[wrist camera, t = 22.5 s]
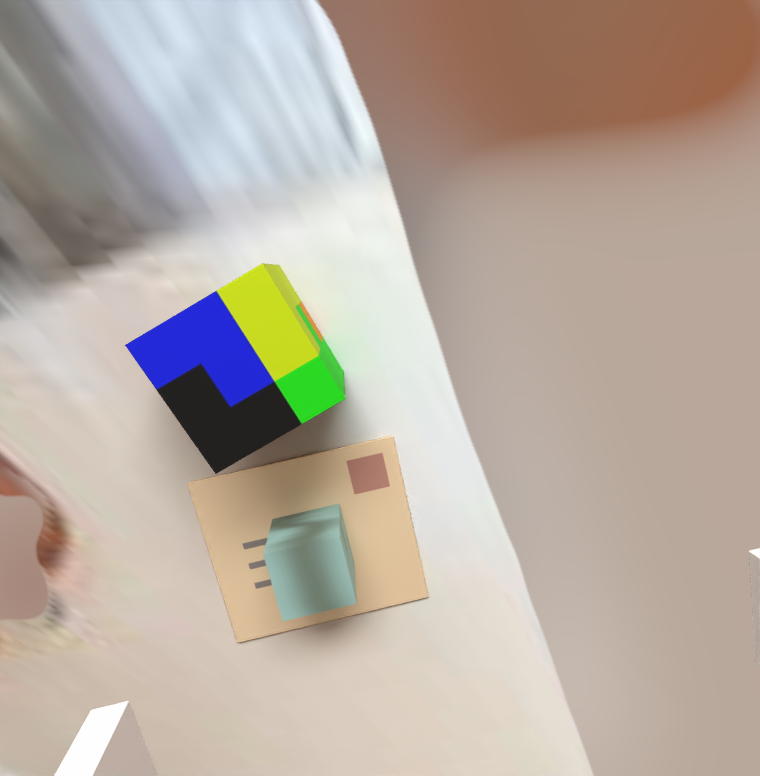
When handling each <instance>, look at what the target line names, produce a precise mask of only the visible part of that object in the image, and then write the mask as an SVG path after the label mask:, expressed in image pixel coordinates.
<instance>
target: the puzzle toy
mask: <svg viewBox="0 0 760 776" xmlns="http://www.w3.org/2000/svg"><path fill="white" fill-rule="evenodd" d="M125 346H126V347H127V348H128V350H129V351H130V353H131V354H132V356H133V357H134V358H135V360H136V361H137V363H138V364H139V366H140V367H141V368H142V370H143V371H144V373H145V374H146V376H147V377H148V378H149V380H150V381H151V383H152V384H153V385H154V387H155V388H156V390H157V391H158V393H159V394H160V395H161V397H162V398H163V400H164V401H165V403H166V404H167V405H168V407H169V408H170V410H171V411H172V412H173V414H174V415H175V417H176V418H177V420H178V421H179V422H180V424H181V425H182V427H183V428H184V430H185V431H186V432H187V434H188V435H189V437H190V438H191V439H192V441H193V442H194V444H195V445H196V447H197V448H198V449H199V451H200V452H201V454H202V455H203V457H204V458H205V459H206V461H207V462H208V464H209V465H210V467H211V468H212V469H213V471H214V472H215V474H216V473H218V472H220V471H222V470H223V469H225V468H227V467H228V466H230V465H232V464H234V463H235V462H237V461H239V460H241V459H242V458H244V457H246V456H247V455H249V454H251V453H253V452H254V451H256V450H258V449H260V448H261V447H263V446H265V445H266V444H268V443H270V442H272V441H273V440H275V439H277V438H279V437H280V436H282V435H284V434H285V433H287V432H289V431H291V430H292V429H294V428H296V427H297V426H299V425H301V424H303V423H304V422H306V421H308V420H310V419H311V418H313V417H315V416H316V415H318V414H320V413H322V412H323V411H325V410H327V409H329V408H330V407H332V406H334V405H335V404H337V403H339V402H341V401H342V400H344V399H345V388H344V372H343V370H342V368H341V366H340V365H339V363H338V361H337V360H336V358H335V356H334V355H333V353H332V352H331V350H330V348H329V347H328V345H327V343H326V342H325V340H324V338H323V337H322V335H321V333H320V332H319V330H318V328H317V327H316V325H315V323H314V322H313V320H312V318H311V317H310V315H309V313H308V312H307V310H306V309H305V307H304V305H303V304H302V302H301V300H300V299H299V297H298V295H297V294H296V292H295V290H294V289H293V287H292V285H291V284H290V282H289V280H288V279H287V277H286V275H285V274H284V272H283V270H282V269H281V267H280V265H273V264H263V263H262V264H261V265H259V266H257V267H256V268H254V269H252V270H250V271H249V272H247V273H245V274H244V275H242V276H240V277H239V278H237V279H235V280H234V281H232V282H230V283H229V284H227V285H225V286H224V287H222V288H220V289H219V290H217V291H215V292H214V293H212V294H210V295H209V296H207V297H205V298H203V299H202V300H200V301H198V302H197V303H195V304H193V305H192V306H190V307H188V308H187V309H185V310H183V311H182V312H180V313H178V314H177V315H175V316H173V317H172V318H170V319H168V320H167V321H165V322H163V323H162V324H160V325H158V326H156V327H155V328H153V329H151V330H150V331H148V332H146V333H145V334H143V335H141V336H140V337H138V338H136V339H135V340H133V341H131V342H130V343H128V344H126V345H125Z"/></svg>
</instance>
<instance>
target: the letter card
mask: <svg viewBox="0 0 760 776" xmlns="http://www.w3.org/2000/svg"><path fill="white" fill-rule="evenodd" d="M187 485H188V488H189V491H190V494H191V497H192V500H193V504H194V507H195V510H196V513H197V516H198V519H199V522H200V525H201V529H202V532H203V535H204V538H205V541H206V544H207V547H208V551H209V554H210V557H211V560H212V563H213V566H214V569H215V572H216V576H217V579H218V582H219V585H220V588H221V591H222V594H223V597H224V601H225V604H226V607H227V610H228V613H229V616H230V619H231V622H232V626H233V629H234V632H235V635H236V638H237V641H238V643H239V642H243V641H247V640H251V639H255V638H260V637H264V636H268V635H272V634H276V633H280V632H285V631H289V630H293V629H297V628H301V627H305V626H310V625H314V624H318V623H322V622H326V621H330V620H335V619H339V618H343V617H347V616H351V615H355V614H359V613H364V612H368V611H372V610H376V609H380V608H384V607H389V606H393V605H397V604H401V603H405V602H409V601H414V600H418V599H422V598H426V597H428V593H427V588H426V584H425V579H424V575H423V570H422V566H421V561H420V557H419V552H418V547H417V543H416V538H415V534H414V529H413V525H412V520H411V516H410V511H409V507H408V502H407V497H406V493H405V488H404V484H403V479H402V475H401V470H400V466H399V461H398V456H397V452H396V447H395V443H394V438H393V436H388V437H384V438H380V439H375V440H371V441H367V442H362V443H358V444H354V445H349V446H345V447H341V448H336V449H332V450H328V451H323V452H319V453H315V454H310V455H306V456H302V457H297V458H293V459H289V460H284V461H280V462H276V463H271V464H267V465H263V466H258V467H254V468H250V469H245V470H241V471H237V472H232V473H228V474H224V475H219V476H215V477H211V478H206V479H202V480H198V481H193V482H189V483H188V484H187ZM335 504H340V508H341V512H342V516H343V520H344V524H345V528H346V532H347V536H348V539H349V543H350V547H351V551H352V555H353V559H354V563H355V580H356V597H357V604H353V605H349V606H345V607H341V608H337V609H333V610H328V611H324V612H320V613H316V614H312V615H308V616H303V617H299V618H295V619H291V620H287V621H283V620H282V617H281V613H280V610H279V607H278V603H277V600H276V596H275V593H274V590H273V586H272V583H271V579H270V576H269V573H268V569H267V566H266V562H265V559H264V556H263V553H264V550H265V546H266V542H267V538H268V534H269V530H270V527H271V523H272V519H275V518H279V517H284V516H288V515H292V514H297V513H301V512H305V511H309V510H314V509H318V508H322V507H326V506H331V505H335Z"/></svg>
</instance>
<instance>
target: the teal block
mask: <svg viewBox="0 0 760 776" xmlns="http://www.w3.org/2000/svg"><path fill="white" fill-rule="evenodd" d="M263 556H264V559H265V562H266V566H267V569H268V573H269V576H270V579H271V583H272V586H273V590H274V593H275V596H276V600H277V603H278V607H279V610H280V613H281V617H282V620H283V621H287V620H291V619H295V618H299V617H303V616H308V615H312V614H316V613H320V612H324V611H328V610H333V609H337V608H341V607H345V606H349V605H353V604H357V597H356V580H355V563H354V559H353V555H352V551H351V547H350V543H349V539H348V536H347V532H346V528H345V524H344V520H343V516H342V512H341V508H340V504H335V505H331V506H326V507H322V508H318V509H314V510H309V511H305V512H301V513H297V514H292V515H288V516H284V517H279V518H275V519H272V523H271V527H270V530H269V534H268V538H267V542H266V546H265V550H264V553H263Z"/></svg>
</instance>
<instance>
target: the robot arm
mask: <svg viewBox="0 0 760 776" xmlns="http://www.w3.org/2000/svg"><path fill="white" fill-rule="evenodd" d="M749 565H750V581H751V598H752V613H753V630H754V645H755V661H756V662H757V663H758V664H759V665H760V548H759V549H755V550H751V551H749ZM55 776H158V775H157V773H156V770H155V767H154V765H153V762H152V760H151V757H150V755H149V752H148V749H147V747H146V744H145V742H144V739H143V736H142V734H141V731H140V729H139V726H138V723H137V721H136V718H135V716H134V713H133V710H132V708H131V705H130V703H129V701H126V702H122V703H118V704H114V705H110V706H105V707H101V708H97V709H93V710H91V711H90V713H89V715H88V717H87V718H86V720H85V722H84V724H83V726H82V727H81V729H80V731H79V733H78V735H77V736H76V738H75V740H74V742H73V743H72V745H71V747H70V749H69V751H68V752H67V754H66V756H65V758H64V760H63V761H62V763H61V765H60V767H59V768H58V770H57V772H56V774H55Z"/></svg>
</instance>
